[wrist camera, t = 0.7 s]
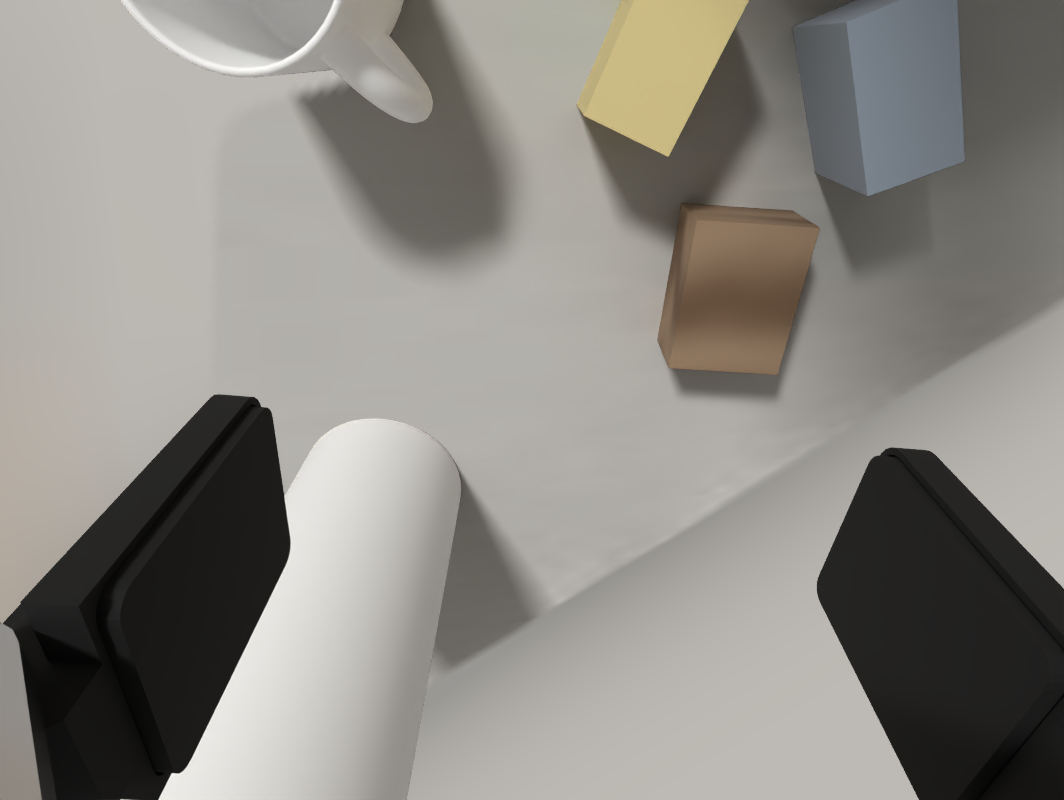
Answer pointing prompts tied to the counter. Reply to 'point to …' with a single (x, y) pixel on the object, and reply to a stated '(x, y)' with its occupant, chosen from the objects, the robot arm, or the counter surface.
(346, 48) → the mug
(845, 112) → the slate brick
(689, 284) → the walnut block
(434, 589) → the tall pillar cylinder
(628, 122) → the mustard brick
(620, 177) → the counter surface
